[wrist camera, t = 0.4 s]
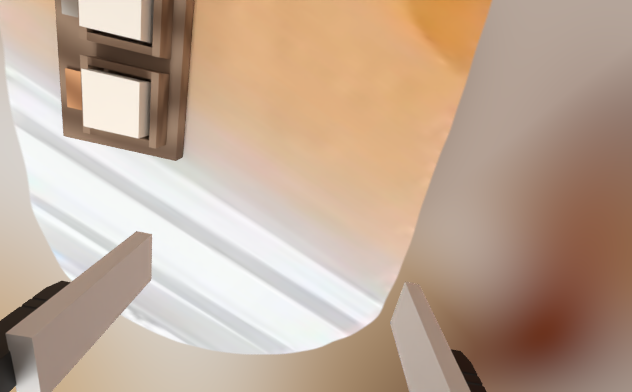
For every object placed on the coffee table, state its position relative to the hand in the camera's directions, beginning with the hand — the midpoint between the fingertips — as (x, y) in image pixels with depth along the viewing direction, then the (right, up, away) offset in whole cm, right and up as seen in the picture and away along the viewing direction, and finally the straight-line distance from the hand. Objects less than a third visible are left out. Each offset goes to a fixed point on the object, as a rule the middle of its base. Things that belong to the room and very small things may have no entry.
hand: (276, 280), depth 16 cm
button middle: (-18, +24, +16) cm, 34 cm away
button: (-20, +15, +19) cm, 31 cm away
